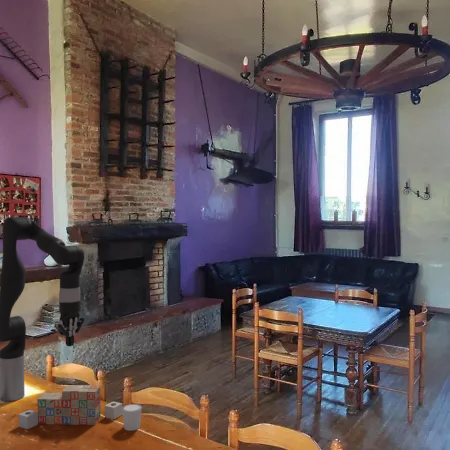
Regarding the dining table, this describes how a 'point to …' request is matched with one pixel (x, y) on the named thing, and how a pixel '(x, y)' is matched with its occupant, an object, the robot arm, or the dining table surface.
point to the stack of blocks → (70, 406)
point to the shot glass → (131, 416)
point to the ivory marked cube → (113, 410)
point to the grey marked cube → (28, 419)
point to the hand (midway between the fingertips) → (69, 345)
